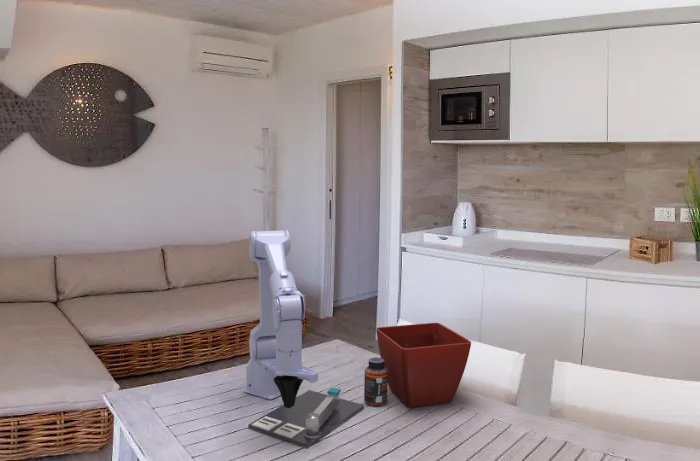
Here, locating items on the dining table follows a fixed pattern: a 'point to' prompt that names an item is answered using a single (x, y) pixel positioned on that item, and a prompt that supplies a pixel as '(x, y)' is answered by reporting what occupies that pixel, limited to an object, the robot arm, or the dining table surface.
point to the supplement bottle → (376, 382)
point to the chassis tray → (298, 417)
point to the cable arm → (328, 405)
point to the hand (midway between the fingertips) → (289, 406)
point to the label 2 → (289, 430)
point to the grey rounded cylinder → (312, 426)
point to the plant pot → (423, 362)
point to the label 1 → (267, 423)
